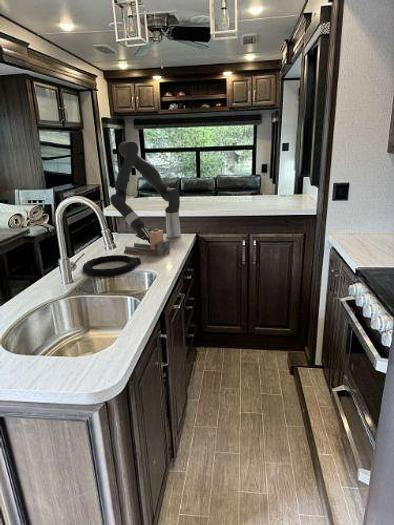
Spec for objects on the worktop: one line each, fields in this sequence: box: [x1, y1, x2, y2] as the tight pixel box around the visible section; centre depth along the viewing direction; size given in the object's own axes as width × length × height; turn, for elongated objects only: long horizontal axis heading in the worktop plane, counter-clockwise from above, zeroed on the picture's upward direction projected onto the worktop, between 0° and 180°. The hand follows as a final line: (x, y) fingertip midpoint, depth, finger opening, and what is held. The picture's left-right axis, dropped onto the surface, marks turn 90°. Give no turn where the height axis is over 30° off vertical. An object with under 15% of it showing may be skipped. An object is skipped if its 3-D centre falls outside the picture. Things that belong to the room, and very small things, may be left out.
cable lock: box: [82, 254, 142, 277], centre depth 183 cm, size 28×4×30 cm
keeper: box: [149, 228, 165, 250], centre depth 202 cm, size 6×5×13 cm
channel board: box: [123, 239, 171, 258], centre depth 207 cm, size 12×25×8 cm, turn 60°
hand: (152, 243), depth 204 cm, fingers closed
